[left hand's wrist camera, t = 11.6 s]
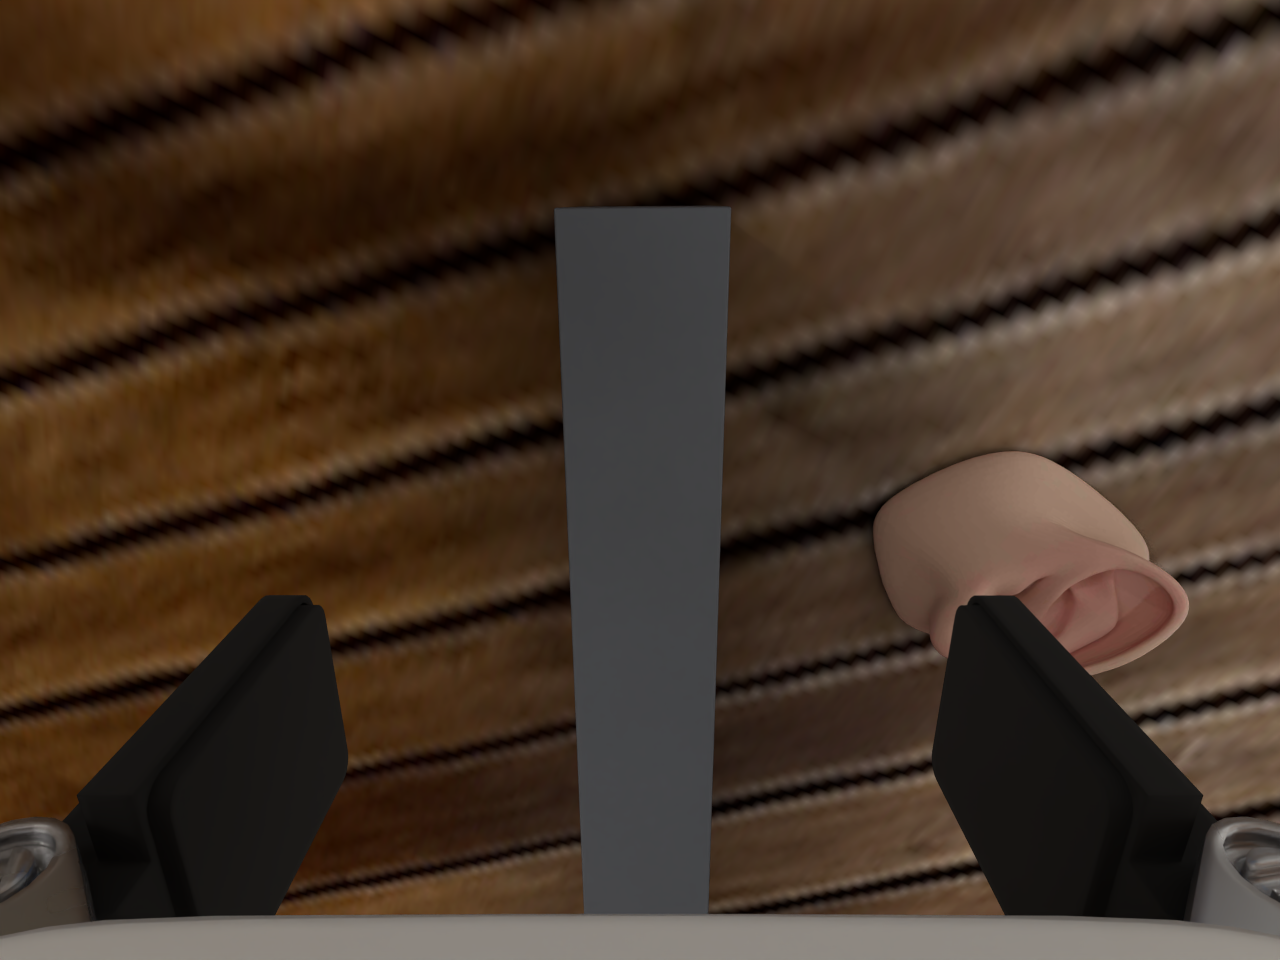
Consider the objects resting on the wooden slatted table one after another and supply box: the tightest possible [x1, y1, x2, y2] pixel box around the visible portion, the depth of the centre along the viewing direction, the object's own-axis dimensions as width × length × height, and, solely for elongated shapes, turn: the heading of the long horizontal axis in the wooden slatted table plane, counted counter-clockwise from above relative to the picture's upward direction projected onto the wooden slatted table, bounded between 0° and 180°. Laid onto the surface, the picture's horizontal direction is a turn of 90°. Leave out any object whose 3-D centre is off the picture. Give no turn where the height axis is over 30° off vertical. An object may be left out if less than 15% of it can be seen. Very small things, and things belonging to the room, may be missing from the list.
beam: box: [554, 206, 731, 914], centre depth 42 cm, size 79×6×9 cm, turn 0°
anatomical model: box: [873, 451, 1189, 675], centre depth 37 cm, size 13×4×12 cm
